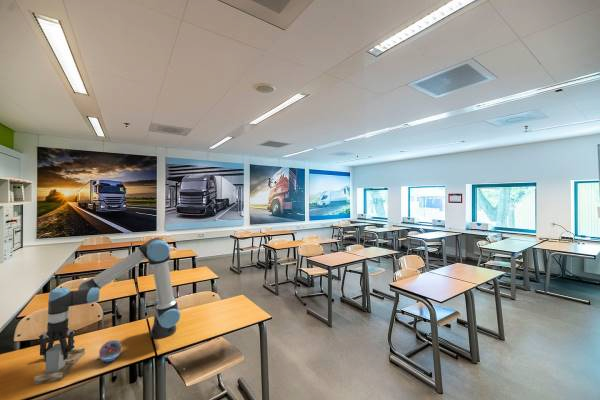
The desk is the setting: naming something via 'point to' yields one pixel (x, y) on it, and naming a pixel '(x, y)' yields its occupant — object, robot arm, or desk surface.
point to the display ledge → (70, 362)
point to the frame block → (53, 359)
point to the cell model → (110, 350)
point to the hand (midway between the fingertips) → (56, 366)
